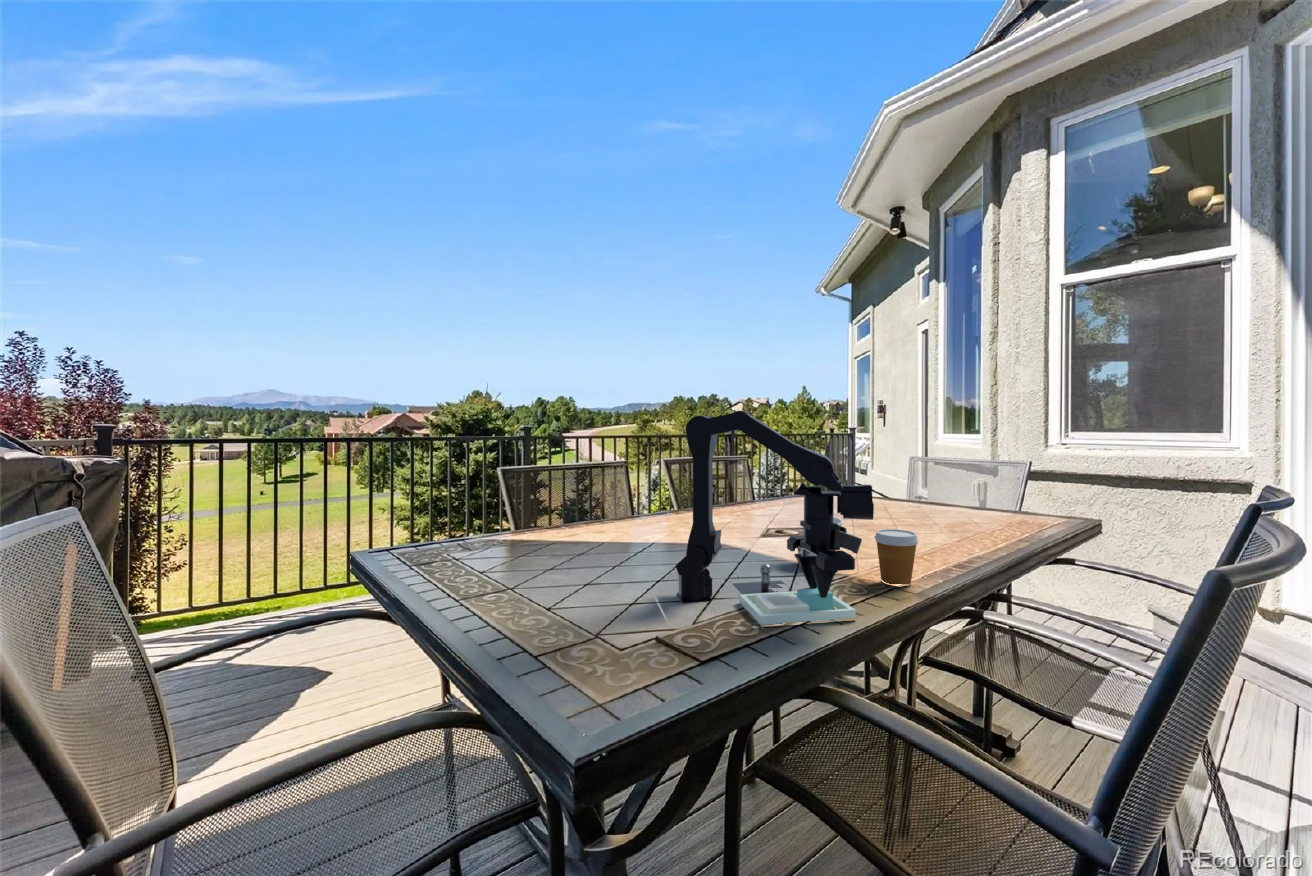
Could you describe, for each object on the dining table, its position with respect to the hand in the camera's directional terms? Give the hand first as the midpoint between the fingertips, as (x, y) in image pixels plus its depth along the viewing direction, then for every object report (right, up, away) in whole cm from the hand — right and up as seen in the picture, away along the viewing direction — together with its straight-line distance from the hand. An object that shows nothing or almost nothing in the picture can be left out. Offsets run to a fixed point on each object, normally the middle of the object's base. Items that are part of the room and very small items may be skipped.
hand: (818, 594), depth 111 cm
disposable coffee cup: (+23, -3, +18) cm, 30 cm away
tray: (-5, -4, -1) cm, 6 cm away
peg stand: (-8, -3, +13) cm, 16 cm away
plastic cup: (+11, -2, +36) cm, 38 cm away
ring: (-5, -3, -1) cm, 6 cm away
